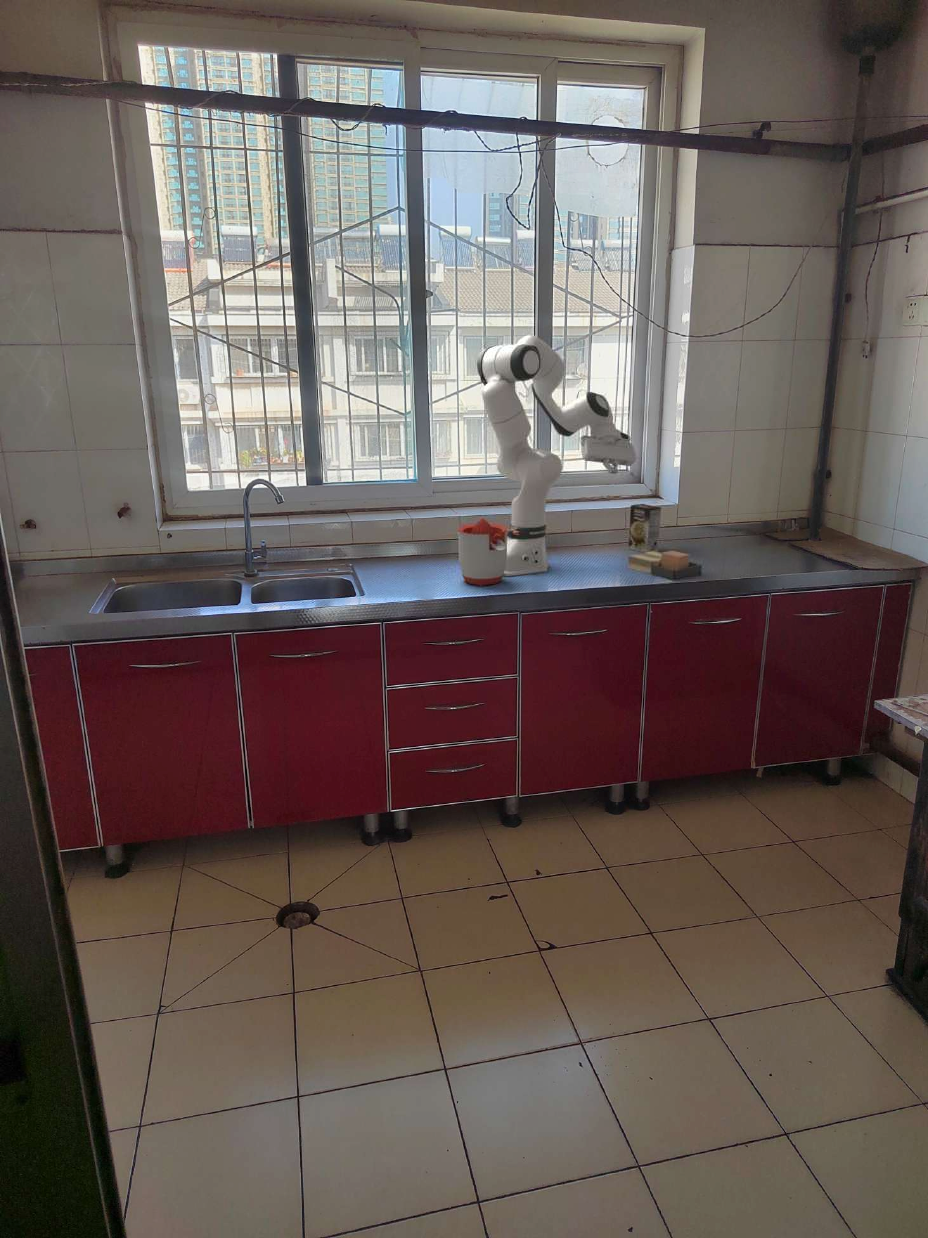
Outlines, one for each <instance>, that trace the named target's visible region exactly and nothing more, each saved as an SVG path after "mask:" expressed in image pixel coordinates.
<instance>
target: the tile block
mask: <svg viewBox="0 0 928 1238" xmlns="http://www.w3.org/2000/svg"><path fill="white" fill-rule="evenodd" d="M661 553H662V557H661V567H662V568H666V569H670V570H678V569H683V568H687V567H689V562H690V554H689V553H684V552H681V551H680V552H679V551H675V550H669V551H665V552H661Z"/></svg>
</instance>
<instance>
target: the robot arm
mask: <svg viewBox="0 0 928 1238" xmlns="http://www.w3.org/2000/svg"><path fill="white" fill-rule="evenodd" d="M477 356H478V357H477V360H476V369H477V373H478V375H479V378H480V379H479V380H480V381H481V383H482V384H483V385H484V387H483V388H482V391H481V392H482V393H481V395H482V401H483V404H484V409H485V411H486V415H487V417H488V419H489V422H490V424H491V426H492V430H493V431H494V432H495V436H496V438H497V441H498V444H499V450H500V451H499V452H500V453H499V454H498V457H497V459H496V468H497V471H498V472H499V475H502V476H503V477H504V478H507V479H509V480H510V481H515V482H520V483H521V487H520V490H519V493H518V495H517V496H515V497H514V498H513V499H512V501H511V516H510V517H511V522H510V523H511V524H510V525H509V527H508V530H507V561H506V567H505V571H504V575H503V577H505V576H506V577H512V576H519V575H529V574H535V573H543V572H547V571H548V568H549V567H550V564H549V562H548V557H547V556H548V555H547V549H546V536H547V525H546V505H547V504H546V503H547V498H548V496H549V495H548V494H549V492H550V490H551V488H552V486H553V485H554V484H555V483H556V482H557V481H558V480H559V478H560V477H561V475H562V471H563V464H562V460H561V458H560V457H559V456H558V454H557V455H556V454H554V453H553V452H550V451H548V450H545V449H537V448H532V447H531V446H530V444H529V441H528V437H529V436H530V433H531V431H532V426H531V422H530V420H529V417H528V416H527V414H526V411H525V409H524V405H523V404H522V401H521V399H520V397H519V395H518V394H517V390H516V382H517V383H518V382H527V381H530V380H532V383H531V391H532V394H533V397H534V398H535V400H536V402H537V403H538V405H539V406H540V407H541V409H542V411H543V412H544V414H545V415H546V416H547V418H548V419H549V420H550V422H551V424H552V426H553V429H554V430H555V432H556V433H557V434H558V435H560V436H562V437H563V436H564V437H571V436H573V435H575V433H577V432H578V431H579V430H582V429H584V428H585V427H587V426H588V427H589V429H590V431H589V434H590V435H582V436H581V437H580V438H579V442H580V444H581V445H580V446H581V448H580V450H581V456H582V459H583V460H584V461H585V462H593V463H602V465H603V466H604V468H605V469H606V470H607V473H608V474H612V475H617V474H618V472H619V470H618V467H619V466H626V467H627V466H628V467H631V466H632V465H634V464H635V462H637V455H636V450H635V447H634V445H633V444H632V443H631V442H630V441H631V440H632V438H631V436H630V435H629V434H628V433H624V432H623V431H621V430H619V429H617V428H616V425H615V423H614V416H613V412H612V409H611V406H610V404H609V401H608V400H607V398H606V397H605V396H604V395H603V394H599V393H596V392H593V391H588V392H586V393H583V394H582V395H580V396H578V397H577V398H575V399H574V400H572V401H570V402H569V403H566V404H565V405H561V406H558V404H557V403H556V401H555V400H554V398H553V396H552V395H553V393H554V392H555V391H556V389H557V388H558V387H559V386H560V384H562V381H563V379H564V377H565V372H566V370H565V369H566V367H565V363H564V361H563V359H562V357H561V356H560V355H559V354H558V353H557V351H555V350H554V349H553V348H552V347H551V346H550V345H549V344H548V343H546V341H544V340H542V339H541V338H539V337H538V336H536V335H534V334H529V335H524V336H522V337H521V338H520V339H519V340H518V342H517V343H516V344H501V345H496V346H494V345H493V346H492V345H491V346H489V347H487V348H484V349H483V350H481V351H480V352H479V353H478V355H477Z"/></svg>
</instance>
